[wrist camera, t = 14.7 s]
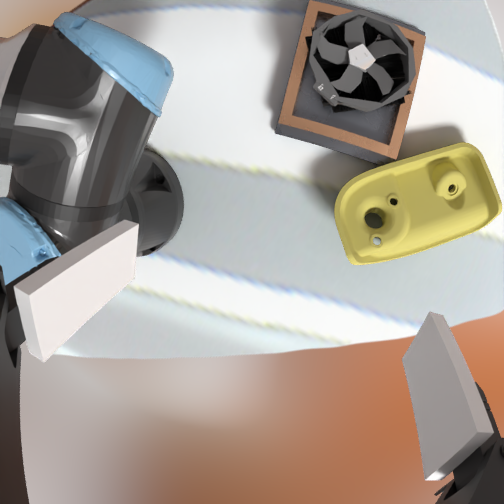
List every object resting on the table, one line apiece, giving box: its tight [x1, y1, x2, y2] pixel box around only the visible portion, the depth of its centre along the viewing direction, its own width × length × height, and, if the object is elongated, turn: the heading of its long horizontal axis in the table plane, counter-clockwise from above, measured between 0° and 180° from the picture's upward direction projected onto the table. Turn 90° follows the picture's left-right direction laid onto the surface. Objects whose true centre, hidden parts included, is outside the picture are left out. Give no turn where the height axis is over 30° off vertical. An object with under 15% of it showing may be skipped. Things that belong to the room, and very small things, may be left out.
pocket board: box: [275, 0, 426, 166], centre depth 30 cm, size 14×18×3 cm
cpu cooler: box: [305, 9, 416, 113], centre depth 26 cm, size 10×6×10 cm
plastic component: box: [334, 142, 502, 265], centre depth 34 cm, size 20×7×10 cm
